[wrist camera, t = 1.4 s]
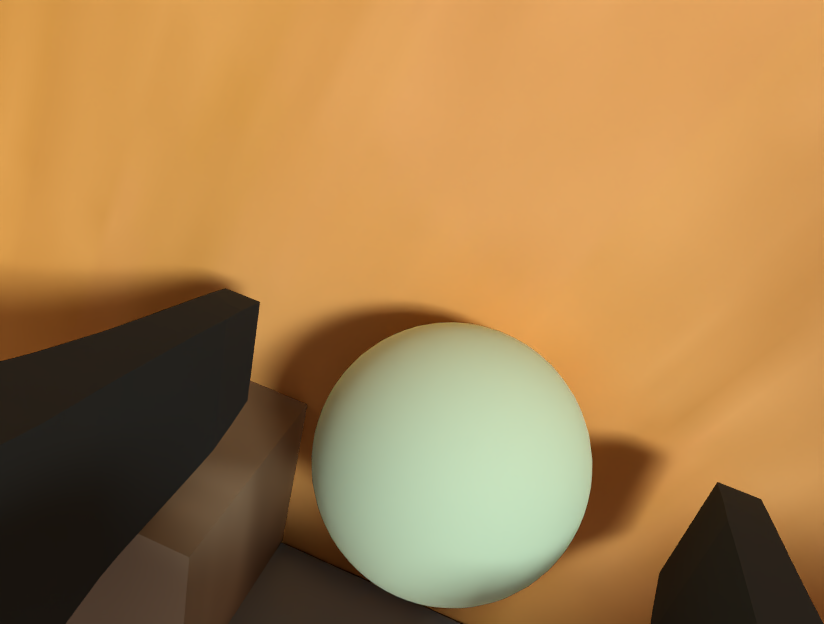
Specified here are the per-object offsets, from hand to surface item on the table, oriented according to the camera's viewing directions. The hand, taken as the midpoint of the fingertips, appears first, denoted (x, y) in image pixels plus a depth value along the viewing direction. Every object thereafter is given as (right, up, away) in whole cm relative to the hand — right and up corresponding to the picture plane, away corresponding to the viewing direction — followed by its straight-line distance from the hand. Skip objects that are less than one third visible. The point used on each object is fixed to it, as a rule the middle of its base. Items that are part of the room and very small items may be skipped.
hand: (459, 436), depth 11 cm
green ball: (0, +1, +1) cm, 1 cm away
